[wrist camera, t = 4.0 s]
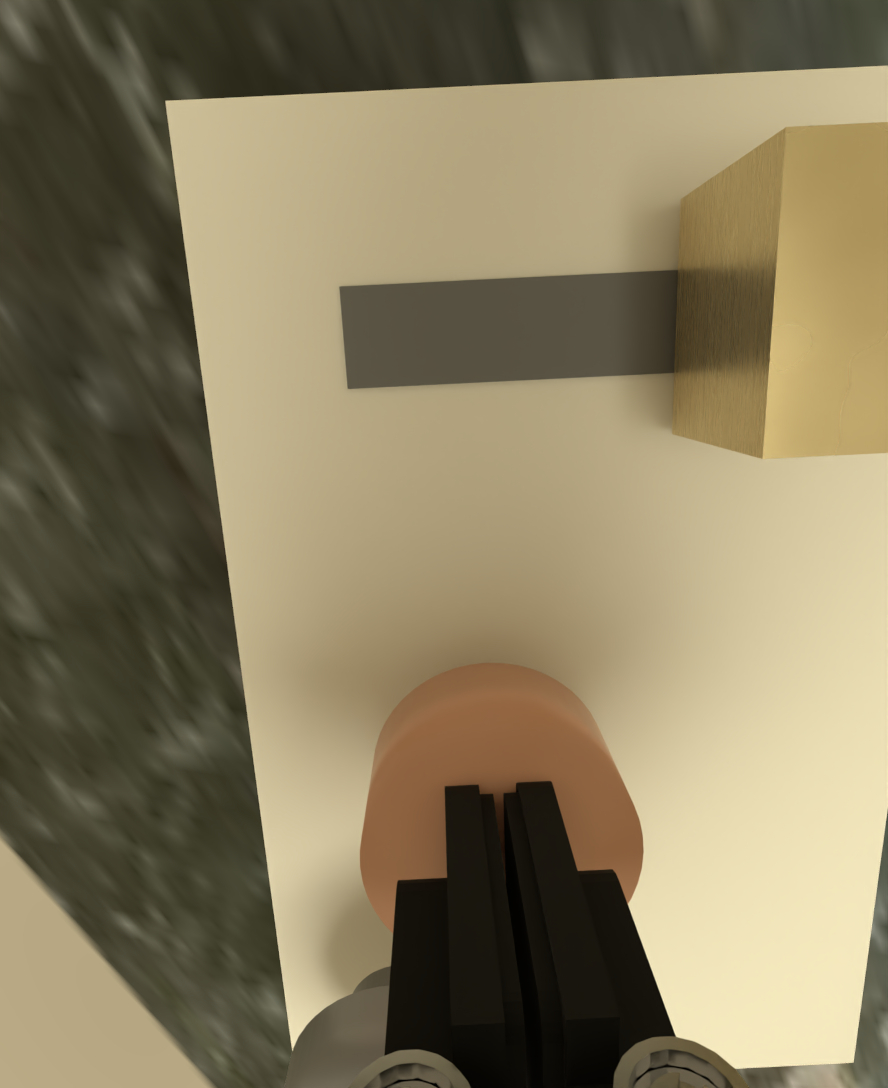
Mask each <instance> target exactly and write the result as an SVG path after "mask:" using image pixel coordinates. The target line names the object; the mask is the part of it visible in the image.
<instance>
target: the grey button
mask: <svg viewBox="0 0 888 1088" xmlns="http://www.w3.org/2000/svg"><path fill="white" fill-rule="evenodd" d="M390 970H391V966H389V967H385V968H382V969H379V970H377V971H375V972H373V973H371V974H370V975H368V976H367V977H366V978H364V979H363V980H362V981H361V982H360V983H359V984H358V985H357V987H356V988H355V990H354V992H353V994H350V995H348V996H346V997H344V998H341V999H339V1000H337V1001H336V1002H334V1003H332V1004H331V1005H329V1006H327V1007H326V1008H325V1009H323V1010H322V1011H321V1012H320V1013H318V1014H317V1015H316V1016H315V1017H314V1018H313V1019H312V1020H311V1021H310V1022H309V1023H308V1024H307V1025H306V1027H305V1028H304V1030H303V1031H302V1032H301V1034H300V1035H299V1037H298V1039H297V1041H296V1043H295V1045H294V1048H293V1051H292V1055H291V1058H290V1063H289V1068H288V1073H287V1077H286V1082H285V1087H284V1088H348V1087H349V1086H350V1085H351V1084H352V1082H353V1081H354V1080H355V1078H356V1077H357V1076H358V1075H359V1073H360V1072H361V1071H362V1070H363V1069H365V1068H366V1067H367V1066H369V1065H370V1064H371V1063H373V1062H374V1061H375V1060H377V1059H378V1058H380V1057H383V1056H384V1053H385V1039H386V1025H387V1011H388V997H389V983H390Z"/></svg>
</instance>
